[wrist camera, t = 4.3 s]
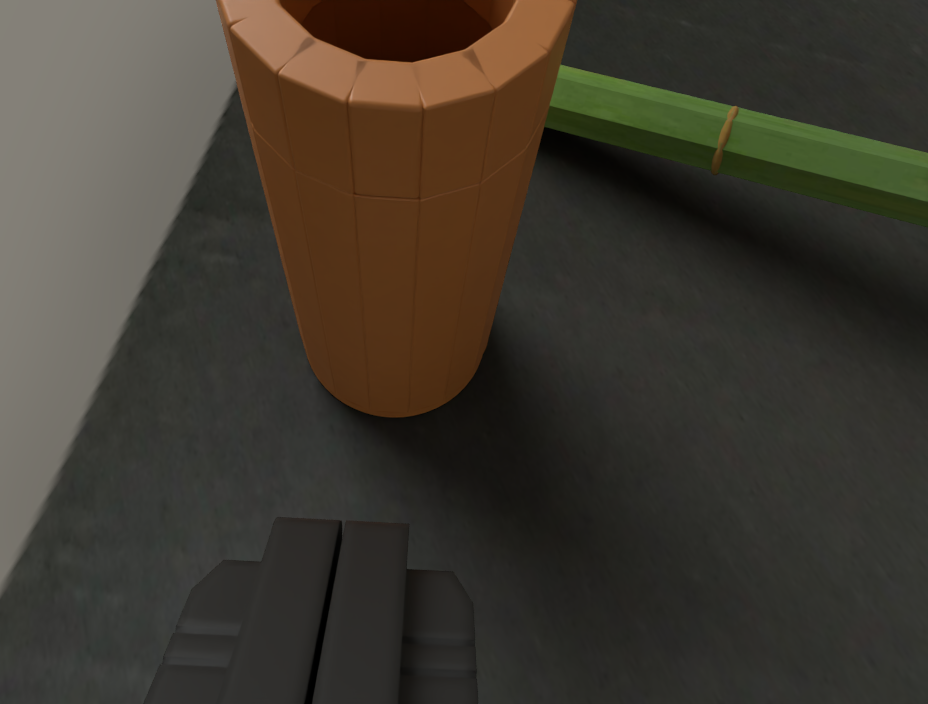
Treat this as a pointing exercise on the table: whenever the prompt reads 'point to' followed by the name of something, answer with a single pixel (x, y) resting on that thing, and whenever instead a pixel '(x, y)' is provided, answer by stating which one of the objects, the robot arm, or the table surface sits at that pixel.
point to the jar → (395, 174)
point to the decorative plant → (743, 144)
